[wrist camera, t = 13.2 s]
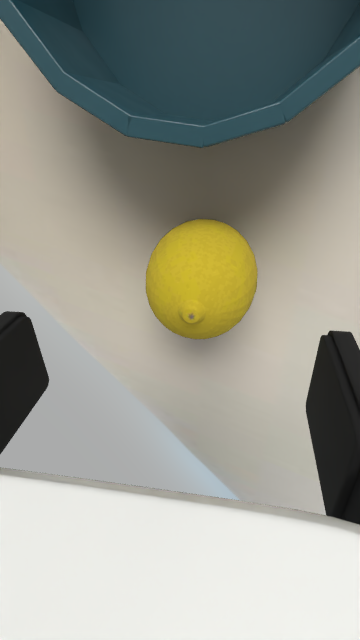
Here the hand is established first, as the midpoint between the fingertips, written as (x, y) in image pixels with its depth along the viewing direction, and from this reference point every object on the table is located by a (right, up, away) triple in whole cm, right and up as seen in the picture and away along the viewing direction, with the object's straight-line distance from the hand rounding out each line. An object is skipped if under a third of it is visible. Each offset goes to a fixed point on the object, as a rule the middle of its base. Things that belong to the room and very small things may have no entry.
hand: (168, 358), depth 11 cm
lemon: (+2, +6, +10) cm, 12 cm away
